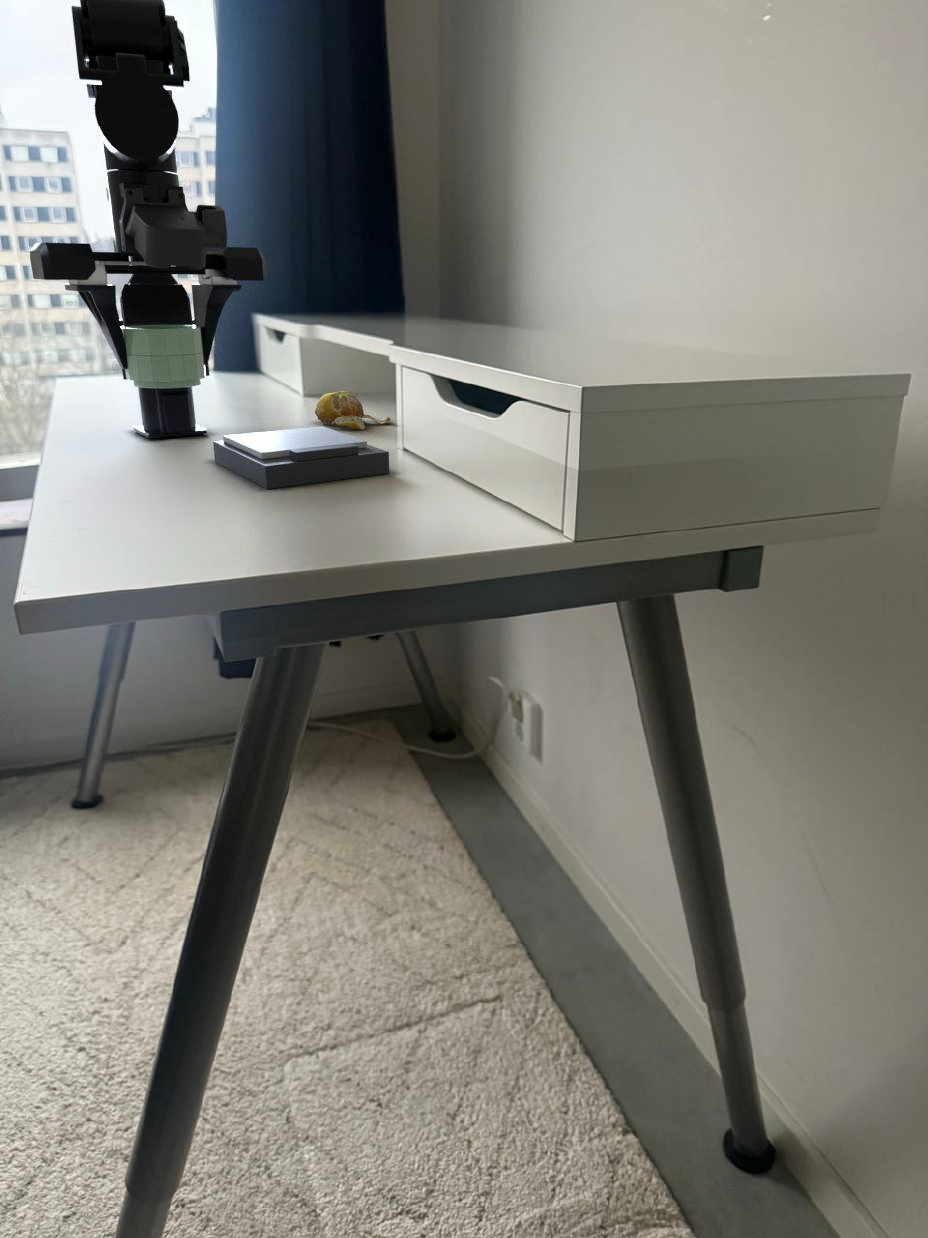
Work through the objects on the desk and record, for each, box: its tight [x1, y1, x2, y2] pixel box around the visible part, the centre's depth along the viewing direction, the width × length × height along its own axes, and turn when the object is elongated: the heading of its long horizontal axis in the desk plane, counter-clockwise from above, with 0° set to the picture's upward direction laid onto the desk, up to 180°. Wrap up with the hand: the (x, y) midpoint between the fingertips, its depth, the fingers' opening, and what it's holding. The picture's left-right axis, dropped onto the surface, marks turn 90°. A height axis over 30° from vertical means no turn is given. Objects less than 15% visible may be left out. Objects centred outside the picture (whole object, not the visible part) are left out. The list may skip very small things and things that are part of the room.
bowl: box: [121, 325, 207, 388], centre depth 77 cm, size 7×7×5 cm
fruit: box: [314, 390, 392, 430], centre depth 104 cm, size 8×8×4 cm
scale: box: [212, 425, 390, 490], centre depth 81 cm, size 13×12×3 cm
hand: (164, 366), depth 78 cm, fingers closed on bowl, 7 cm apart
